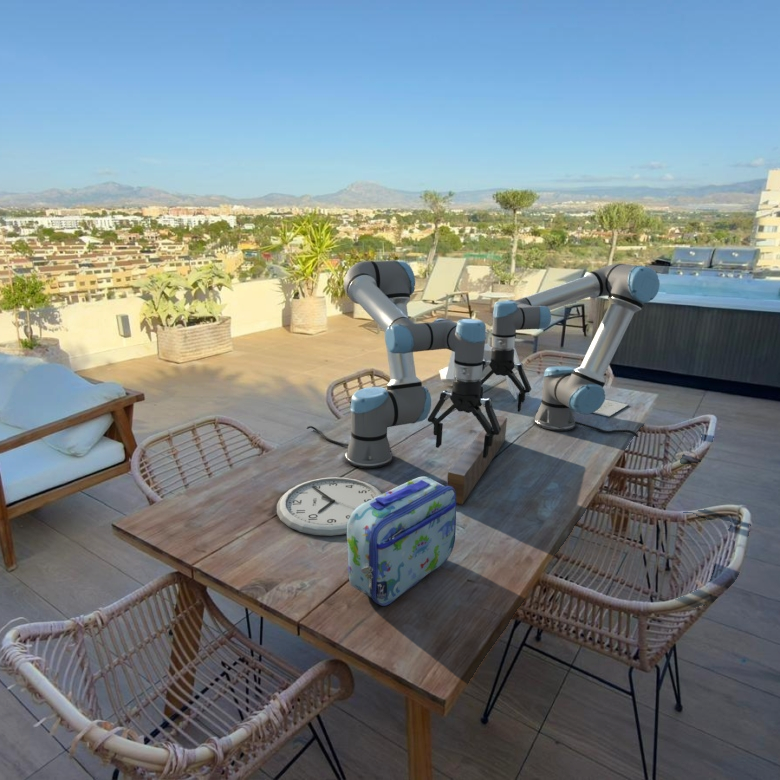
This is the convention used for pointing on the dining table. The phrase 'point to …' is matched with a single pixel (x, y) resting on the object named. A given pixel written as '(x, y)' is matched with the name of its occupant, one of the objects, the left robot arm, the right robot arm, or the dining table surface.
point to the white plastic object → (449, 372)
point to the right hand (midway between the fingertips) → (499, 408)
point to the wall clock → (324, 504)
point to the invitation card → (610, 408)
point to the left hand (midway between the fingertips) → (461, 450)
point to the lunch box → (400, 538)
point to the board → (474, 463)
